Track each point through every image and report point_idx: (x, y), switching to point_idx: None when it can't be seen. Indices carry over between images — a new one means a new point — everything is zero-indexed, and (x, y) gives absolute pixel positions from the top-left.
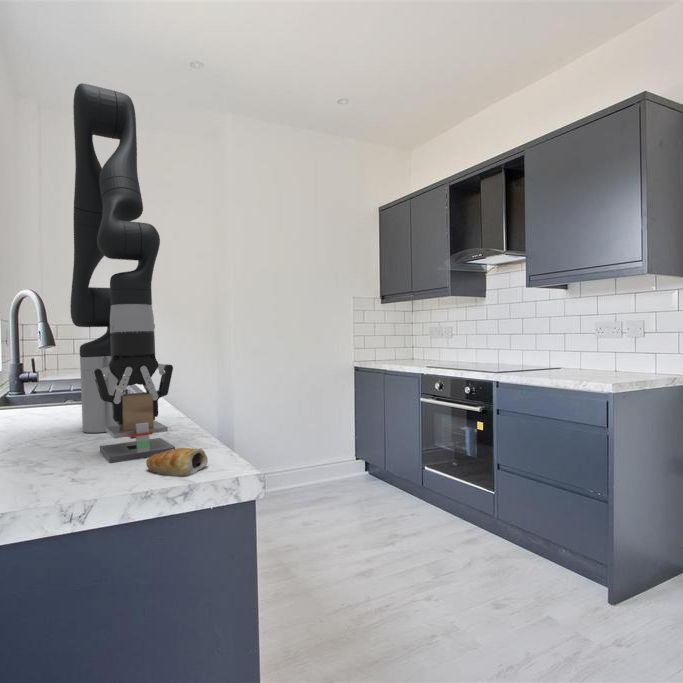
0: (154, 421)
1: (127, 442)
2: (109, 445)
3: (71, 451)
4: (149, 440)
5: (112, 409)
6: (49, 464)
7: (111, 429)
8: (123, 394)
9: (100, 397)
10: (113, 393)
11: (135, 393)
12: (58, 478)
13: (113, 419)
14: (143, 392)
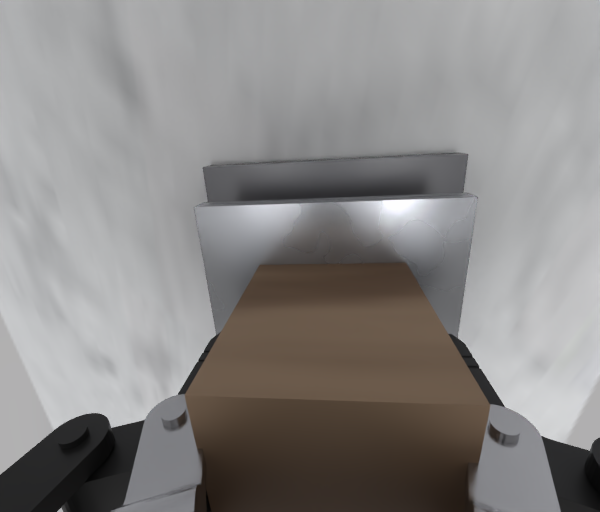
0: (461, 224)
1: (314, 168)
2: (240, 182)
3: (102, 75)
4: (405, 191)
5: (189, 376)
6: (76, 260)
7: (222, 313)
8: (235, 426)
9: (50, 443)
10: (136, 475)
11: (354, 435)
12: (134, 412)
13: (216, 338)
14: (454, 410)
